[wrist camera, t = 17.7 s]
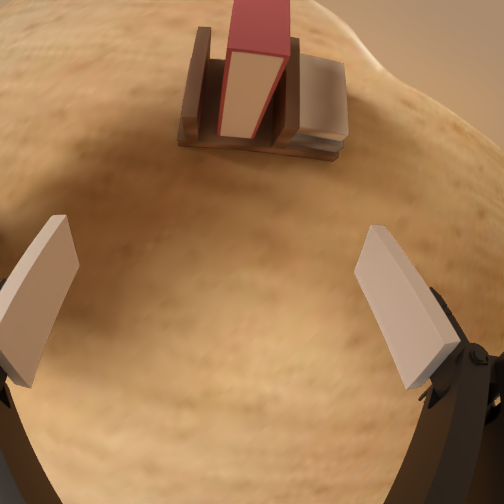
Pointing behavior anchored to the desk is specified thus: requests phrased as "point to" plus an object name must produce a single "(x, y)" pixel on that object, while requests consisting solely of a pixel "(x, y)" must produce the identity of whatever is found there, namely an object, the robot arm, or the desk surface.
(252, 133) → the book
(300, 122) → the book stand
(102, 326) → the desk surface
